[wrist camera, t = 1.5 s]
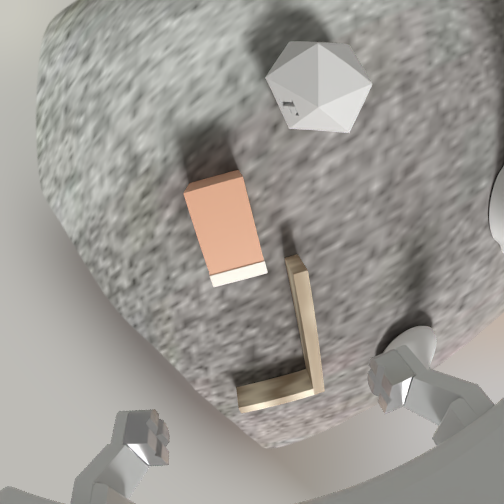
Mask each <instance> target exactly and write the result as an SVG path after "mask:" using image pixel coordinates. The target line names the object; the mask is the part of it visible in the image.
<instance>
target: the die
mask: <svg viewBox="0 0 504 504" xmlns="http://www.w3.org/2000/svg"><path fill="white" fill-rule="evenodd" d="M265 78H266V80H267V82H268V84H269V86H270V88H271V90H272V93H273V95H274V97H275V99H276V101H277V103H278V105H279V107H280V110H281V112H282V114H283V116H284V118H285V121H286V123H287V125H288V127H289V129H305V130H320V131H333V132H343V133H349V132H350V130H351V128H352V126H353V124H354V122H355V120H356V118H357V116H358V114H359V111H360V109H361V107H362V105H363V103H364V101H365V99H366V97H367V95H368V92H369V90H370V88H371V86H372V82H371V80H370V78H369V76H368V75H367V73H366V71H365V70H364V68H363V66H362V65H361V63H360V61H359V60H358V58H357V56H356V55H355V53H354V52H353V50H352V49H351V47H350V45H349V44H341V43H328V42H306V41H289V43H288V44H287V45H286V47H285V48H284V50H283V51H282V53H281V54H280V56H279V57H278V59H277V60H276V62H275V63H274V65H273V66H272V68H271V69H270V71H269V72H268V74H267V75H266V77H265Z"/></svg>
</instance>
